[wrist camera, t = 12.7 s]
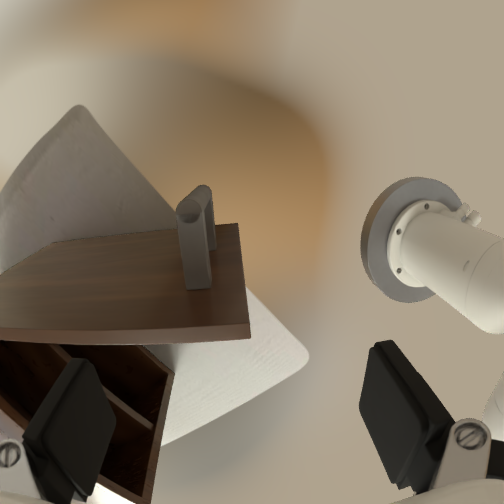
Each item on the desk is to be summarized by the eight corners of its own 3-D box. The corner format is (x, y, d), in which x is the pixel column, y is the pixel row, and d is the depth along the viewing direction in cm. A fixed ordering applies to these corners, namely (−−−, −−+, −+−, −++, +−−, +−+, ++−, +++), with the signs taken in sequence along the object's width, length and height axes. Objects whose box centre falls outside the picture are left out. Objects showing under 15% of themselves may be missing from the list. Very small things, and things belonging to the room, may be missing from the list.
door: (45, 202, 36) (-86, 255, 13) (234, 175, 37) (240, 206, 14) (54, 249, 38) (-62, 332, 15) (238, 230, 39) (251, 338, 16)
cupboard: (51, 249, 38) (-66, 331, 14) (175, 373, 45) (149, 510, 22) (6, 314, 40) (-76, 395, 17) (111, 415, 47) (76, 522, 24)
